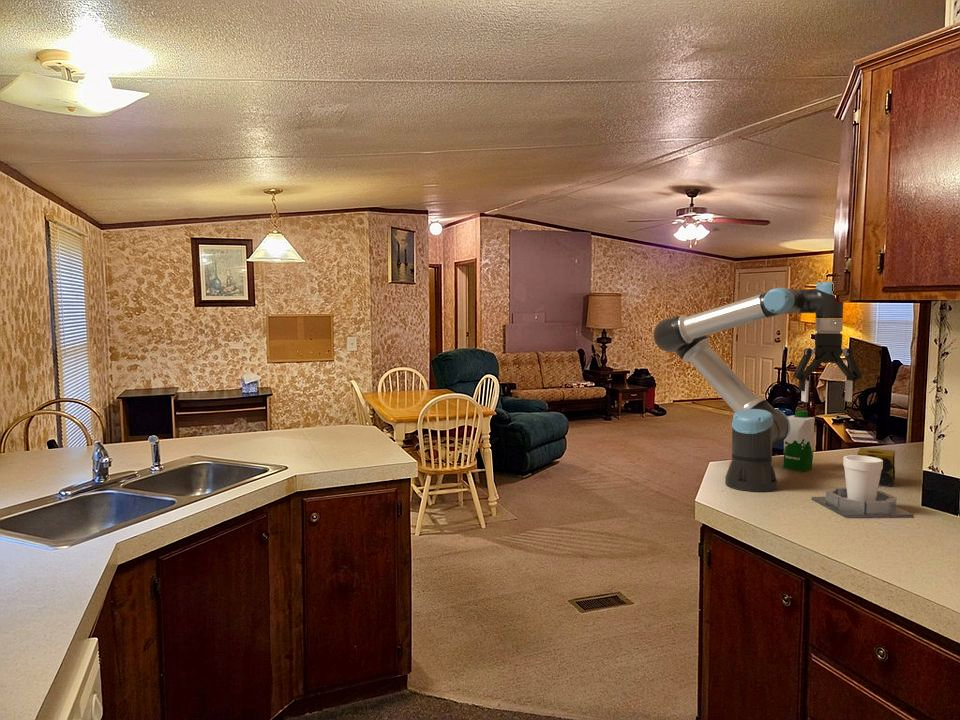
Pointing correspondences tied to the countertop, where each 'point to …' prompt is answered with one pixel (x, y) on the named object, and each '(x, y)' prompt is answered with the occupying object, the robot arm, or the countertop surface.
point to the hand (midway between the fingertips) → (826, 401)
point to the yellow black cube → (888, 464)
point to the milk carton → (799, 442)
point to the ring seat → (861, 505)
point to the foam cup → (862, 476)
